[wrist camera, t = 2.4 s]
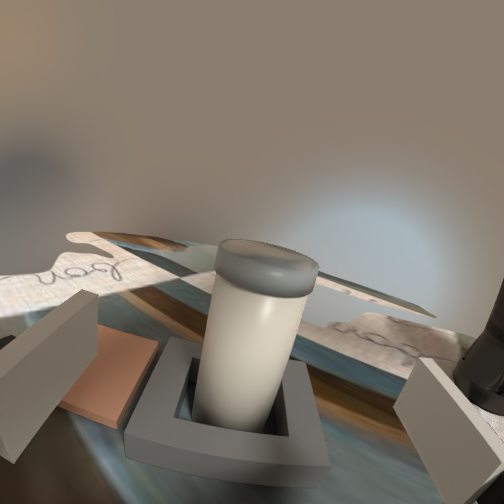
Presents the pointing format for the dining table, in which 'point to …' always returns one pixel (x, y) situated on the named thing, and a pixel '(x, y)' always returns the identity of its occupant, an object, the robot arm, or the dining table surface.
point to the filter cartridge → (250, 332)
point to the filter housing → (227, 440)
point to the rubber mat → (110, 377)
